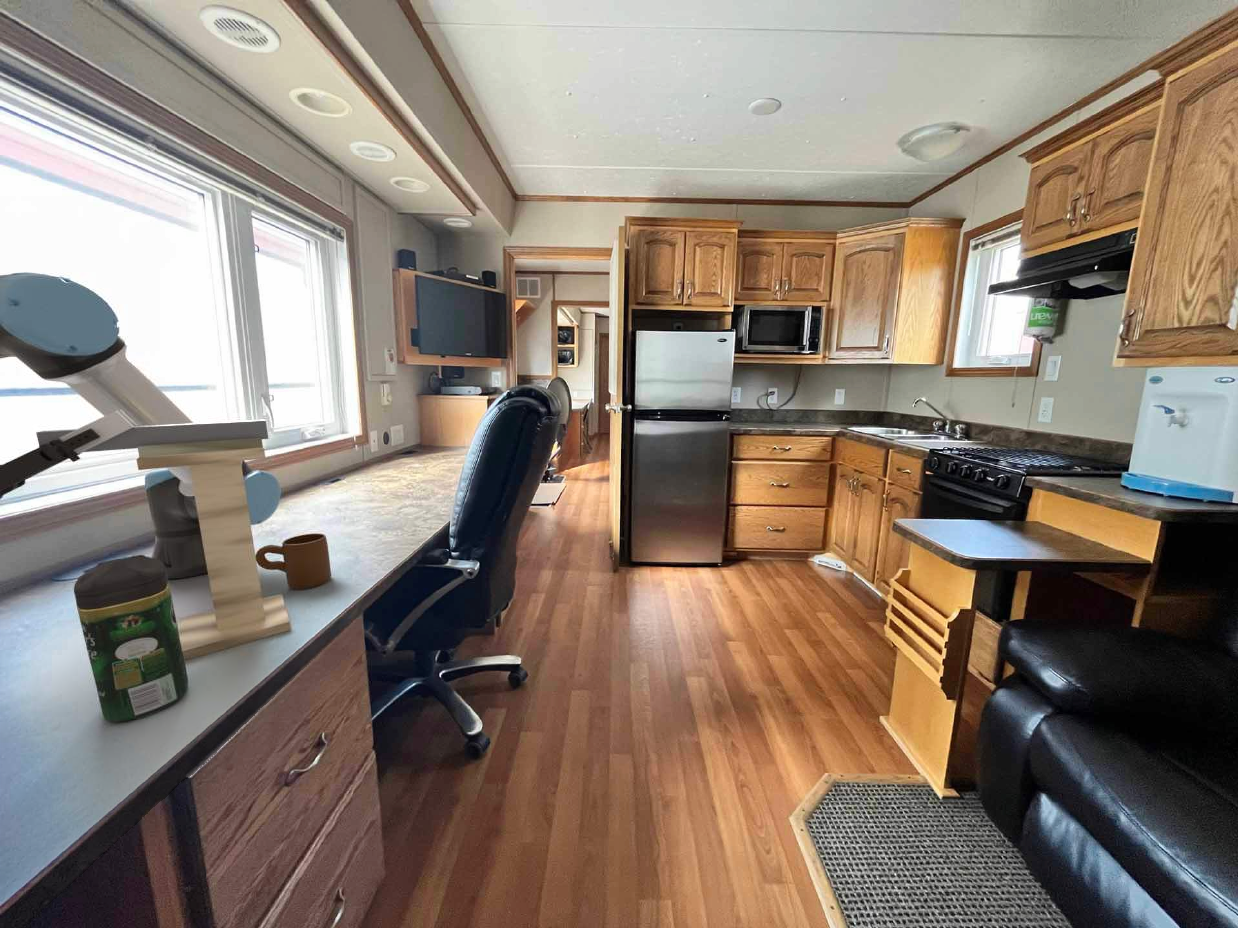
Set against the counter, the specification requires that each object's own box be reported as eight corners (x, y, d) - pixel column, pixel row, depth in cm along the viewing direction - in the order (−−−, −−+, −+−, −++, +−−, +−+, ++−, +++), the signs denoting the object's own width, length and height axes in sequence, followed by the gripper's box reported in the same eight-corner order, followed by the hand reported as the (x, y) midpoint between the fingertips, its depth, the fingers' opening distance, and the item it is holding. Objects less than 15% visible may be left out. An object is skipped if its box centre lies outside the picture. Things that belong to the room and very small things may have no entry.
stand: (181, 626, 78) (146, 441, 73) (282, 601, 87) (258, 433, 82) (174, 663, 68) (133, 449, 63) (290, 629, 77) (263, 440, 71)
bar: (47, 452, 63) (42, 430, 63) (267, 437, 78) (264, 419, 78) (41, 455, 61) (36, 432, 60) (268, 438, 76) (265, 420, 76)
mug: (257, 599, 88) (250, 552, 87) (263, 585, 95) (256, 540, 93) (331, 585, 94) (325, 540, 93) (332, 572, 101) (327, 530, 99)
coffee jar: (104, 697, 60) (74, 561, 57) (187, 671, 66) (163, 545, 63) (98, 736, 54) (63, 584, 50) (191, 702, 59) (165, 564, 56)
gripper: (-36, 533, 64) (155, 435, 74) (-97, 567, 51) (142, 444, 62) (-97, 491, 60) (113, 395, 71) (-178, 517, 48) (90, 396, 59)
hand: (126, 418), depth 67 cm, fingers closed on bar, 3 cm apart
